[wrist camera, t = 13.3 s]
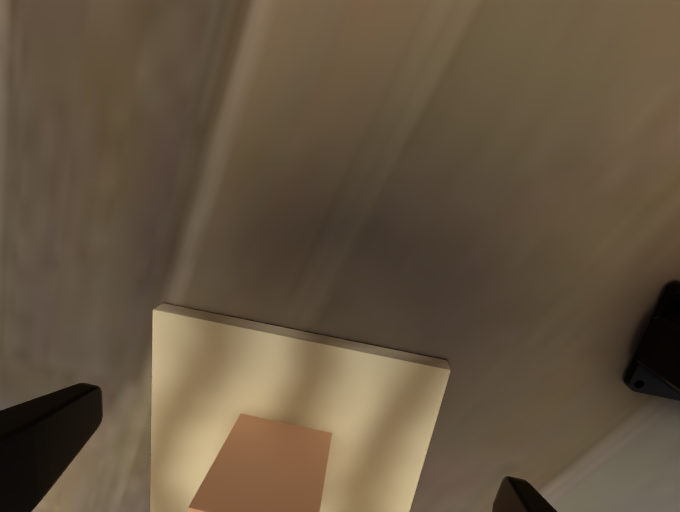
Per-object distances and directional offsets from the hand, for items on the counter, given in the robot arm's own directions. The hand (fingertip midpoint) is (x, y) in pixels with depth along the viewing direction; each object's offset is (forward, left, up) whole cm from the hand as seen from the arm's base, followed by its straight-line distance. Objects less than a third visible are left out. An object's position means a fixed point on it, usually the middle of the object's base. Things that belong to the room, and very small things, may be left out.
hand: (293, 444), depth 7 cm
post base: (+2, +13, -12) cm, 18 cm away
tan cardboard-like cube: (+2, +13, -11) cm, 17 cm away
